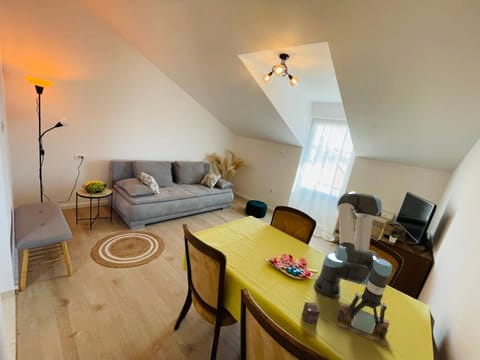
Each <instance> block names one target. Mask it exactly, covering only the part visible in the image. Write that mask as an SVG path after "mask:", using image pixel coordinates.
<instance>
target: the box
mask: <svg viewBox="0 0 480 360" xmlns="http://www.w3.org/2000/svg"><path fill="white" fill-rule="evenodd" d="M320 313H321V311H320V309H319V307H318V304H317V302H307V301H304V305H303V310H302V316H303V319H304V321H305V323H306V324H315V325H316V324H317V323H318V320H319V316H320Z"/></svg>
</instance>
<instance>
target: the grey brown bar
mask: <svg viewBox="0 0 480 360" xmlns="http://www.w3.org/2000/svg"><path fill="white" fill-rule="evenodd" d="M349 306H350V305H348V304H346V303H343V302H341V301H340V302H339V305H338V308H337V311H336V315H335V317H336V321H337V322H336V327H340V328H342V329H344V330H347V331H349V332H351V333H354V334H357V335H359V336H361V337H363V338H366V339H369V340H371V341H373V342H376V343H378V344H380V345H382V346H385V347H388V346H389V342H388V341H385V340H384V339H386V336H387V333H388V331H389V330H388V329H389V326H390V324H391V323H390V320H388V319H386V318H384V321H383V324H381V323H379V325H377V328H374V329H373V332H372V333H376V334H378V335H380V336H379V337H380V338H381V339H380V338H379V337H375V336H374V335H372V334H368V333H365V332H363V331H360V330H358V329H355V328H353V326H349V325H347V324H345V323H341V321H342V320H343V321H345V322H348V323H350V324H351V320H352V319H351V313H352V312H350V311H349ZM378 319H380V316H378Z"/></svg>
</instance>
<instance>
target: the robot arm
mask: <svg viewBox="0 0 480 360" xmlns="http://www.w3.org/2000/svg"><path fill="white" fill-rule="evenodd" d="M336 204H337V206H336V210H337V211H338V220H339V221H338V224H339V227H338V228H339V229H338V230H339V245H336V248H335V250H334V253H333V252H331V253H330V252H329V253H328V254H326V255H325V256H324V259H323V262H322V267H321V271H320V274H319V275H318V276H317V278H316V279H315V281H314V285H313V286H314V288H315V290H316V292H318V293H319V294H321V295H322V296H324V297H326V298H328V299H329V298H330V299H336V298H339V296H340V294H341V285H340V284H341V283H340V282H341V280H344V281H347V282H350V283H355V284H357V285H361V286H364V287H365V288H364V290H363V293H362V294H361V295H360V294H358V293H356V292H355V294H354V298H353V300H352V302H351V303H350V305H349V311H350V312H352V313H351V319H352V320H351V323H350V325H351V326H350V327H353V324H354V321H355V318H356V313H357V312H358V311H360V310H363V309H364V308H366V307H367V308H370V309H372V311H373V314H374V316H375V323H374V325H373V328H372V331H371V334H370V335H372V334H373V333H374V332H373V329H374V328H377V325H379V323H381V324H383V321H384V319H385V312H386V310H387V304H386V303H382V302H381V301H382V299H383V296H384V295H383V294H384V293H385V290H386V288H387V285H388V282H389V279H390V277H391V276H392V271H393V264H391V263H390V262H389V261H388V260H385V259H384V258H381V256H380V255H379V254H378V253H377V252H376V251H375V250H371V249H370V243H371V235H372V228H373V222H374V220H375V219H376V218H377V216H379V215H380V214H381V212H382V209H383V208H382V207H383V206H382V204H383V203H382V200H381V199H380V198H379V197H378V196H377V195H373V194H367V193H364V192H363V193H362V192H357V191H347V192H346V193H344V194H342V195H341V196H340V197H339V199H338V201H337V203H336ZM353 213H354V214H355V216H356V223H355V227H354V214H353ZM354 228H355V229H354ZM359 301H360V302H359ZM358 302H359V303H358ZM377 307H380V311H379V316H378V313H377V312H378V311H377ZM378 317H380V319H378Z"/></svg>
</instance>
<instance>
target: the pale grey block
mask: <svg viewBox="0 0 480 360" xmlns="http://www.w3.org/2000/svg"><path fill="white" fill-rule="evenodd" d="M374 323H375V316H374V313H371V312H368V311H366V310H363V309H361V310H360V311H358V312H357V313H356V318H355V321H354V324H353V326H352V328H354V329H357V330H359V331H361V332H364V333H366V334H369V335H372V334H371V331H372V328H373V325H374Z"/></svg>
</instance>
